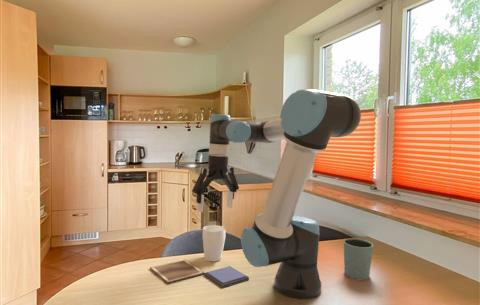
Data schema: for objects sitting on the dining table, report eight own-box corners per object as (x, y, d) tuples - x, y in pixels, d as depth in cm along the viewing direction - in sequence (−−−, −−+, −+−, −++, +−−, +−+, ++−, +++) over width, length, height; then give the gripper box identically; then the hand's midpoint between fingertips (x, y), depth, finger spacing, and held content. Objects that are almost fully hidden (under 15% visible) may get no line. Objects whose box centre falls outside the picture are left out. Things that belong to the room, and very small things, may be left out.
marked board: (204, 274, 115) (204, 272, 115) (167, 284, 107) (167, 282, 107) (184, 260, 126) (185, 259, 126) (149, 268, 118) (150, 267, 118)
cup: (226, 255, 134) (227, 226, 133) (222, 263, 125) (224, 232, 124) (204, 253, 135) (205, 224, 134) (199, 261, 126) (200, 230, 125)
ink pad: (248, 279, 113) (249, 276, 113) (222, 287, 106) (222, 284, 106) (229, 268, 121) (229, 265, 121) (204, 275, 115) (204, 271, 115)
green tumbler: (373, 282, 115) (375, 248, 114) (342, 278, 117) (345, 245, 116) (368, 270, 125) (370, 239, 124) (340, 267, 127) (342, 236, 126)
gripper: (238, 153, 137) (234, 203, 139) (184, 154, 121) (181, 210, 123) (249, 155, 131) (246, 208, 133) (195, 156, 116) (192, 216, 118)
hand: (215, 209), depth 128 cm, fingers open, 13 cm apart
